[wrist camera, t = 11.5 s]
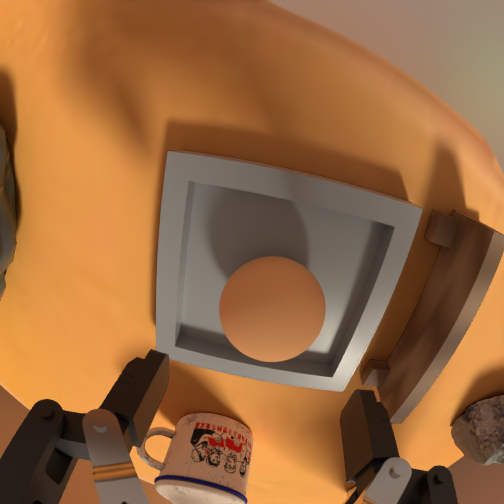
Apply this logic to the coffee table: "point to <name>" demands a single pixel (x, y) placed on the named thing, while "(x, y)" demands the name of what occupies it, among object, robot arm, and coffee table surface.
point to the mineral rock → (481, 431)
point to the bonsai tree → (6, 210)
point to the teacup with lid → (203, 460)
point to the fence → (438, 311)
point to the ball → (272, 309)
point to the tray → (274, 244)
